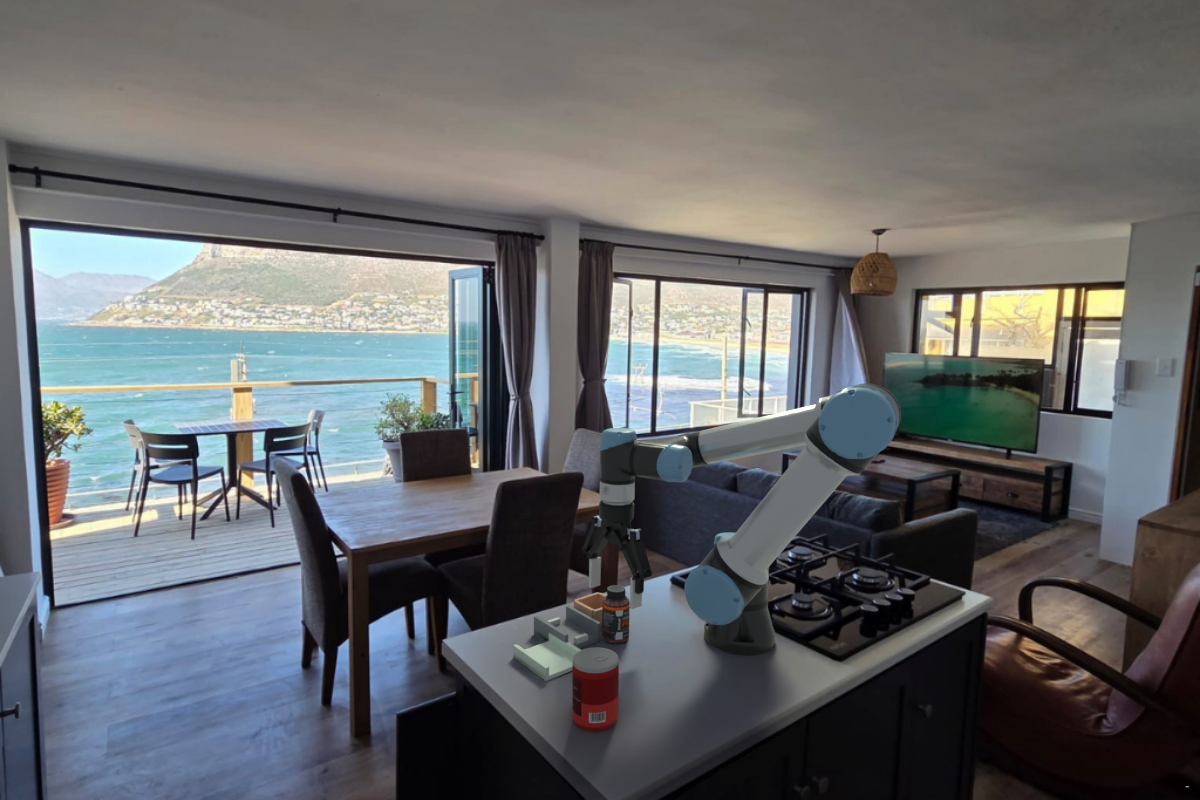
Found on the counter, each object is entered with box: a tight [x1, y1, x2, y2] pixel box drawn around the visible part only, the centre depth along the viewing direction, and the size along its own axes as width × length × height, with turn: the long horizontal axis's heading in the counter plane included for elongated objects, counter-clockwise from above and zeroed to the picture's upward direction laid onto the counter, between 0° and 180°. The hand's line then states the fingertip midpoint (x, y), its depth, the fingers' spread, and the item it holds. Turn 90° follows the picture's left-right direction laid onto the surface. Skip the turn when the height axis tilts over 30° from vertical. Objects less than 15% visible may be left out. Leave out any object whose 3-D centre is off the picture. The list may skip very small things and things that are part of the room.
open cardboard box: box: [573, 591, 607, 630], centre depth 146 cm, size 8×8×5 cm
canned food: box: [571, 647, 620, 732], centre depth 108 cm, size 8×8×11 cm
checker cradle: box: [533, 604, 602, 650], centre depth 138 cm, size 12×10×4 cm
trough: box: [512, 633, 582, 682], centre depth 127 cm, size 12×10×3 cm
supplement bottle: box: [601, 584, 631, 644], centre depth 137 cm, size 6×6×11 cm
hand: (614, 596), depth 137 cm, fingers open, 13 cm apart
